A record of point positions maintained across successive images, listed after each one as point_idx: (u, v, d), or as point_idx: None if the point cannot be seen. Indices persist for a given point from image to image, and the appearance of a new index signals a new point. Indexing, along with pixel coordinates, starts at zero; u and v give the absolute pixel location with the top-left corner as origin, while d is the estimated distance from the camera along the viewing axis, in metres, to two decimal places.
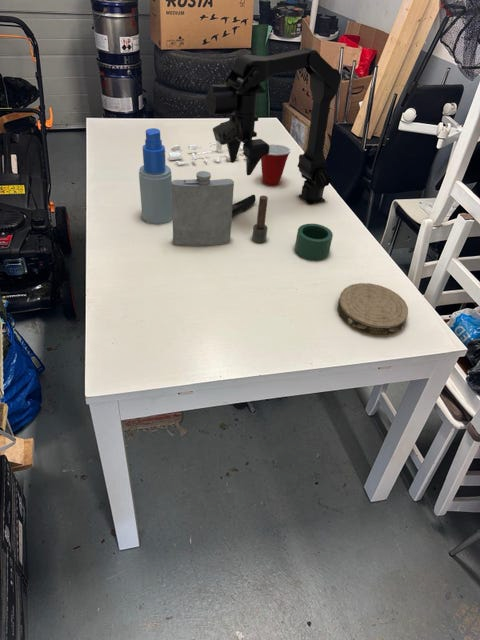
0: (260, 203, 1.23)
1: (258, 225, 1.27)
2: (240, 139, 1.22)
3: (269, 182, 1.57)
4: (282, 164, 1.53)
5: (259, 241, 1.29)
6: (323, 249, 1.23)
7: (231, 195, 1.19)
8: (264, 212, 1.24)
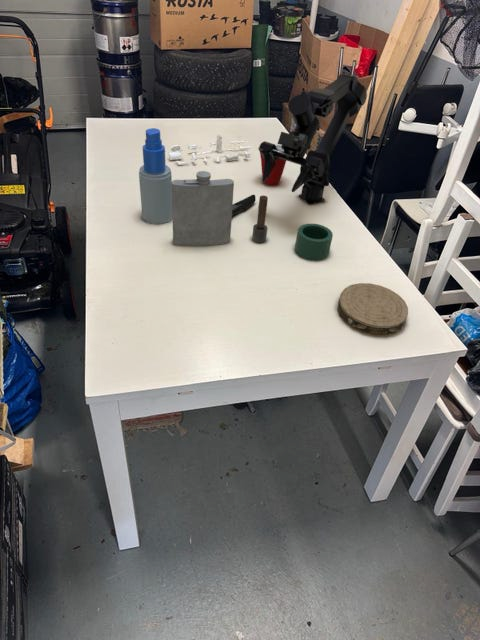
0: (260, 203, 1.23)
1: (258, 225, 1.27)
2: (300, 153, 1.23)
3: (269, 182, 1.57)
4: (282, 164, 1.53)
5: (259, 241, 1.29)
6: (323, 249, 1.23)
7: (231, 195, 1.19)
8: (264, 212, 1.24)
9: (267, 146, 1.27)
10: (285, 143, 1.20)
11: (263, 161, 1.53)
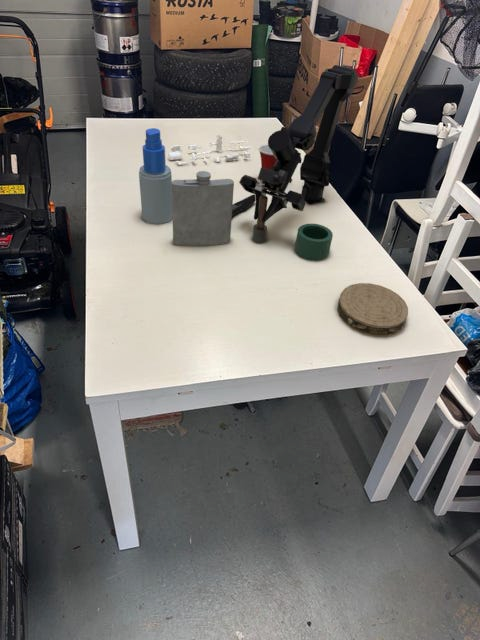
0: (260, 203, 1.23)
1: (258, 225, 1.27)
2: (281, 188, 1.22)
3: None
4: None
5: (259, 241, 1.29)
6: (323, 249, 1.23)
7: (231, 195, 1.19)
8: (264, 212, 1.24)
9: (247, 180, 1.25)
10: (265, 179, 1.18)
11: (263, 161, 1.53)
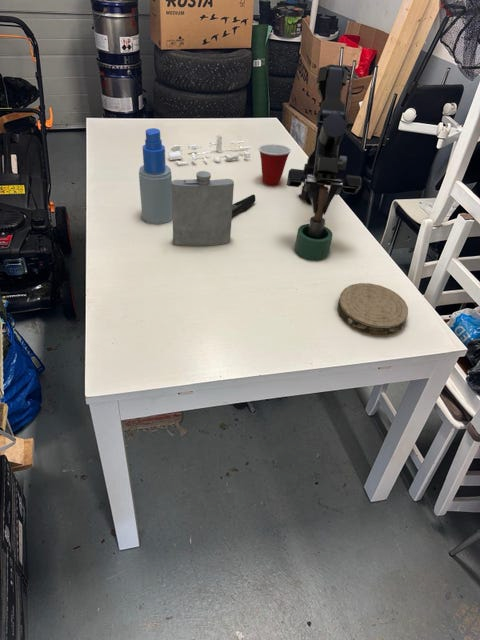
0: (322, 195, 1.16)
1: (318, 218, 1.20)
2: (336, 175, 1.17)
3: (269, 182, 1.57)
4: (282, 164, 1.53)
5: (319, 234, 1.23)
6: (323, 249, 1.23)
7: (231, 195, 1.19)
8: (325, 203, 1.18)
9: (298, 174, 1.17)
10: (329, 168, 1.12)
11: (263, 161, 1.53)
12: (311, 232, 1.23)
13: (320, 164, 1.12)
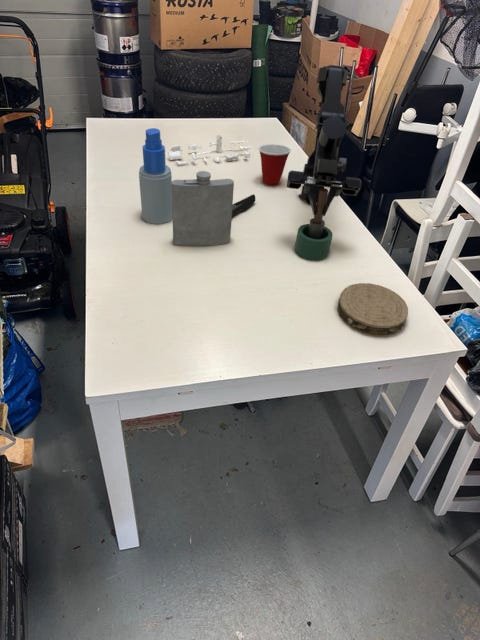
0: (322, 196, 1.16)
1: (317, 220, 1.21)
2: None
3: (269, 182, 1.57)
4: (282, 164, 1.53)
5: (319, 236, 1.23)
6: (323, 249, 1.23)
7: (231, 195, 1.19)
8: (324, 205, 1.18)
9: (298, 176, 1.17)
10: (328, 170, 1.12)
11: (263, 161, 1.53)
12: (311, 234, 1.23)
13: (320, 166, 1.12)
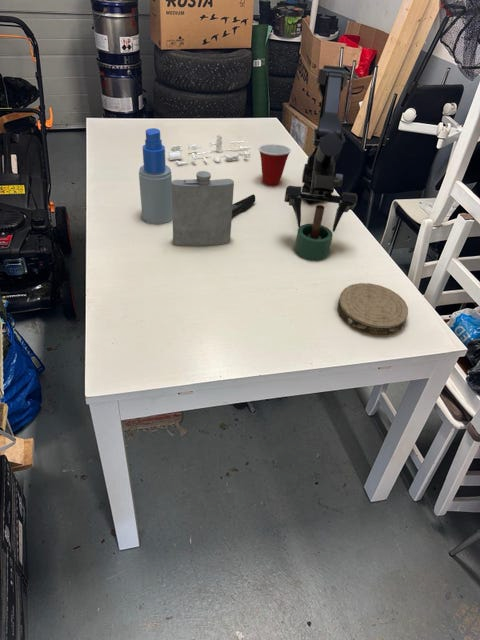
0: (318, 213, 1.20)
1: (314, 235, 1.24)
2: None
3: (269, 182, 1.57)
4: (282, 164, 1.53)
5: None
6: (323, 249, 1.23)
7: (231, 195, 1.19)
8: (321, 221, 1.22)
9: (295, 191, 1.20)
10: (325, 186, 1.15)
11: (263, 161, 1.53)
12: None
13: (317, 182, 1.15)
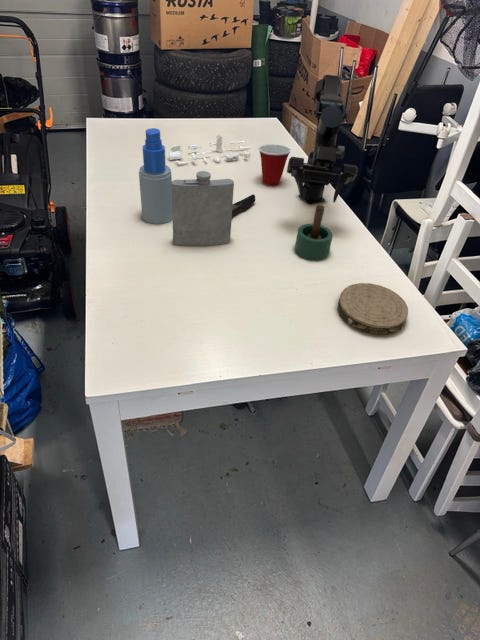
0: (318, 213, 1.20)
1: (314, 235, 1.24)
2: None
3: (269, 182, 1.57)
4: (282, 164, 1.53)
5: None
6: (323, 249, 1.23)
7: (231, 195, 1.19)
8: (321, 221, 1.22)
9: (298, 162, 1.24)
10: (327, 157, 1.19)
11: (263, 161, 1.53)
12: None
13: (319, 153, 1.19)
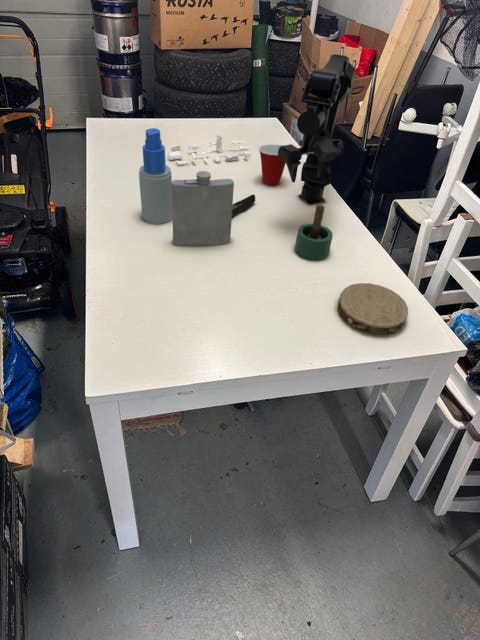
0: (318, 213, 1.20)
1: (314, 235, 1.24)
2: None
3: (269, 182, 1.57)
4: (282, 164, 1.53)
5: None
6: (323, 249, 1.23)
7: (231, 195, 1.19)
8: (321, 221, 1.22)
9: (297, 158, 1.22)
10: (329, 159, 1.22)
11: (263, 161, 1.53)
12: None
13: (323, 157, 1.21)
